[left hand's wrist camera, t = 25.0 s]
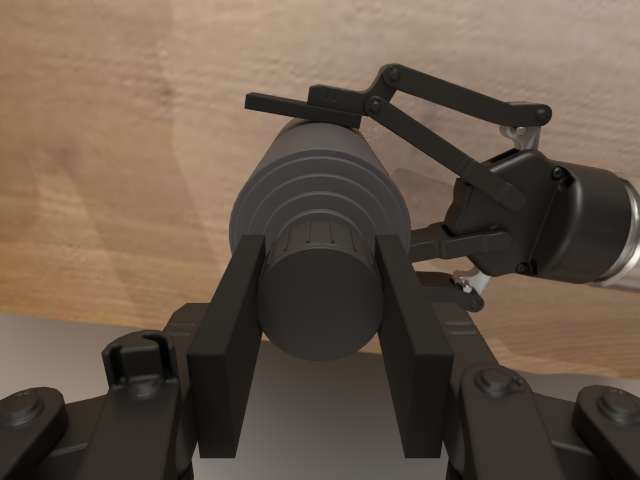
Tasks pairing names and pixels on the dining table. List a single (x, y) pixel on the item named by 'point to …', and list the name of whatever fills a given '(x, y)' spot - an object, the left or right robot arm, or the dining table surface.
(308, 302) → the cap
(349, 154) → the bottle
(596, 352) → the dining table surface
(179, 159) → the dining table surface
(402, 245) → the left robot arm
